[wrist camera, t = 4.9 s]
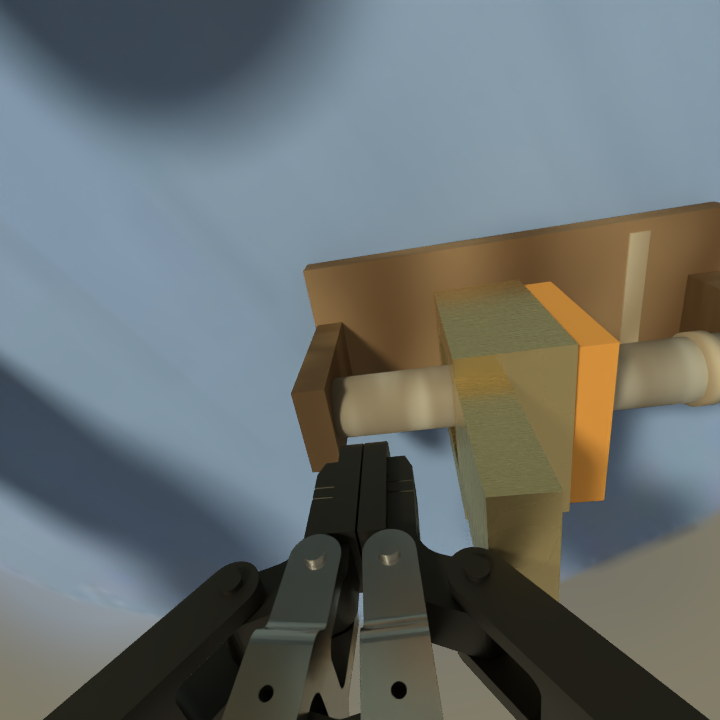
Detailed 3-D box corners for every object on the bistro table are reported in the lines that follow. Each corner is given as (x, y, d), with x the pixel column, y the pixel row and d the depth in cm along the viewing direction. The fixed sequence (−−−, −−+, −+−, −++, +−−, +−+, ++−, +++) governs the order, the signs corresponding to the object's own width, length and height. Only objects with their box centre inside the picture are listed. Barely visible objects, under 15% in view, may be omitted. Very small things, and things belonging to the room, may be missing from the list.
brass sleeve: (445, 417, 21) (495, 663, 11) (433, 291, 18) (483, 470, 8) (520, 409, 21) (640, 658, 11) (518, 279, 18) (679, 453, 8)
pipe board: (341, 419, 25) (324, 522, 18) (307, 264, 21) (268, 323, 14) (681, 382, 23) (806, 485, 16) (713, 201, 19) (896, 236, 12)
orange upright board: (521, 408, 21) (567, 503, 15) (520, 285, 18) (575, 347, 13) (547, 405, 20) (604, 500, 15) (550, 281, 18) (619, 342, 12)
